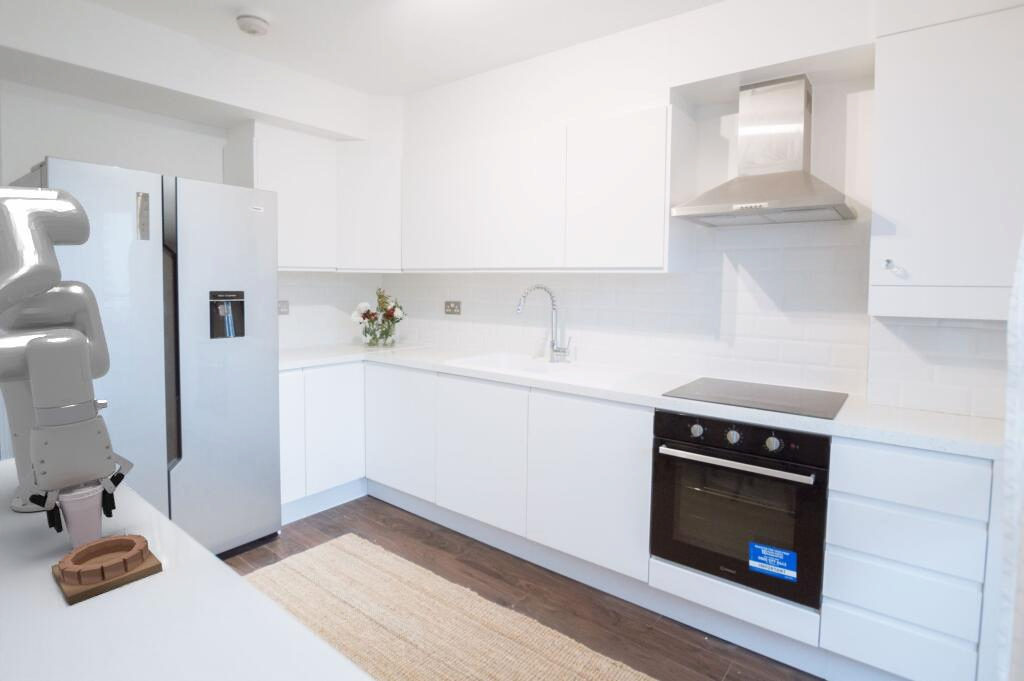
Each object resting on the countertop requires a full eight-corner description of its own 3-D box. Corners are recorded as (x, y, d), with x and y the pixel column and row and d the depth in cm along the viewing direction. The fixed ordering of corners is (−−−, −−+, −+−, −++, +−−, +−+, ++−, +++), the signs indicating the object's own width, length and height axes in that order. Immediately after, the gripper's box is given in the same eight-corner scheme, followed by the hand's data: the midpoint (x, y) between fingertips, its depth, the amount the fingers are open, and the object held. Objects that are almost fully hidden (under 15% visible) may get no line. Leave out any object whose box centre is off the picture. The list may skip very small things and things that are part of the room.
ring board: (52, 573, 84) (49, 553, 83) (138, 544, 92) (136, 525, 91) (69, 605, 76) (65, 583, 75) (162, 570, 84) (159, 550, 83)
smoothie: (85, 555, 89) (73, 469, 87) (51, 552, 90) (39, 467, 88) (120, 536, 95) (110, 455, 93) (88, 533, 96) (78, 453, 94)
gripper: (125, 399, 98) (138, 498, 101) (-10, 422, 86) (10, 535, 88) (137, 405, 93) (151, 510, 96) (-4, 431, 81) (17, 551, 83)
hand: (83, 521), depth 92 cm, fingers closed on smoothie, 5 cm apart
